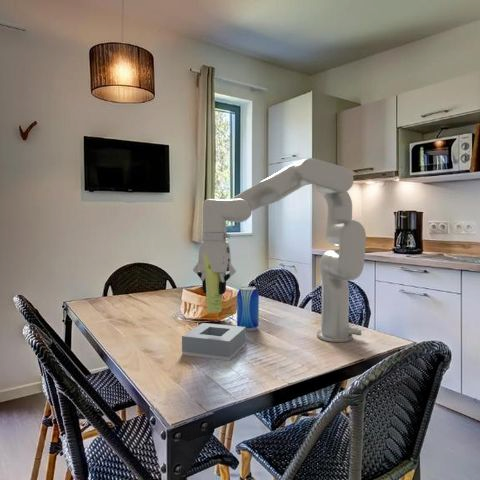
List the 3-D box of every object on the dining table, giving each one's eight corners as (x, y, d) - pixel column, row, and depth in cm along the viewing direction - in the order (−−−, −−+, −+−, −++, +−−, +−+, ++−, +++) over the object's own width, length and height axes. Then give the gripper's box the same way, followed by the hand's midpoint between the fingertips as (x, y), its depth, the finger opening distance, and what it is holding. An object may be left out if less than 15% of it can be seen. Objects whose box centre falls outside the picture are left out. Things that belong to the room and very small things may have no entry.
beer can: (256, 332, 148) (256, 290, 147) (234, 331, 150) (234, 289, 149) (260, 326, 156) (260, 286, 155) (239, 325, 158) (239, 285, 157)
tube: (218, 314, 125) (217, 253, 124) (203, 313, 126) (203, 252, 125) (224, 310, 130) (224, 251, 129) (210, 309, 132) (209, 251, 131)
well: (245, 344, 134) (245, 327, 134) (229, 360, 119) (229, 341, 119) (202, 339, 140) (202, 322, 139) (182, 354, 124) (181, 336, 124)
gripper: (243, 237, 128) (242, 293, 129) (195, 236, 133) (195, 289, 134) (235, 238, 121) (234, 297, 122) (185, 237, 126) (185, 293, 127)
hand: (214, 292), depth 128 cm, fingers closed on tube, 5 cm apart
